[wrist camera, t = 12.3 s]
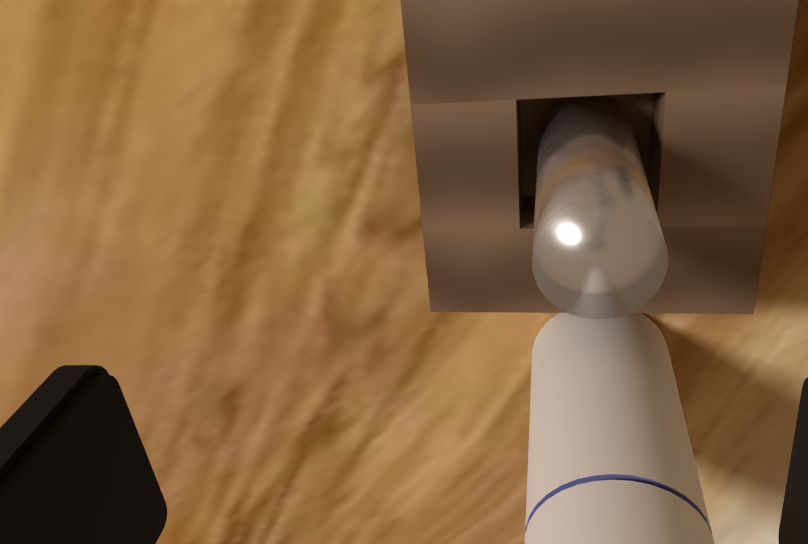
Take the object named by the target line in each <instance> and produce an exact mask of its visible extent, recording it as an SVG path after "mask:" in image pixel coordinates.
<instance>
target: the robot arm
mask: <svg viewBox="0 0 808 544" xmlns="http://www.w3.org/2000/svg"><path fill="white" fill-rule="evenodd" d="M166 518H167V506H166V502H165V500H164V497H163V495H162V492H161V490H160V487H159V485H158V482H157V480H156V477H155V475H154V472H153V469H152V467H151V464H150V462H149V459H148V457H147V454H146V452H145V449H144V447H143V444H142V441H141V439H140V436H139V434H138V431H137V429H136V426H135V424H134V421H133V419H132V416H131V414H130V411H129V408H128V406H127V403H126V401H125V398H124V396H123V393H122V391H121V388H120V386H119V383H118V381H117V380H116V378H114V377H113V376H110V375H109V374H108V372H107V370H105V369H104V368H103V367H101V366H97V365H65V366H61V367H59V368H57V369H56V370H55V371H53V373H52V374H51V375H50V376H49V377H48V378H47V379H46V380H45V381H44V382H43V383H42V384H41V385H40V386H39V387H38V388H37V390H36V391H35V392H34V393H33V394H32V395H31V396H30V397H29V398H28V399H27V400H26V401H25V402H24V403H23V404H22V405H21V407H20V408H19V409H18V410H17V411H16V412H15V413H14V414H13V415H12V416H11V417H10V418H9V419H8V420H7V421H6V422H5V424H4V425H3V426H2V427H1V428H0V544H155V543H156V541H157V540H158V538H159V536H160V534H161V533H162V531H163V529H164V526H165V523H166ZM779 544H808V378H806V379H805V381H804V383H803V387H802V393H801V399H800V405H799V411H798V418H797V424H796V430H795V436H794V442H793V448H792V454H791V460H790V466H789V472H788V479H787V485H786V491H785V497H784V503H783V509H782V515H781V521H780V527H779Z"/></svg>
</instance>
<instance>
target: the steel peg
mask: <svg viewBox="0 0 808 544" xmlns="http://www.w3.org/2000/svg"><path fill="white" fill-rule="evenodd" d="M667 266H668V253H667V247H666V244H665V240H664V237H663V233H662V230H661V226H660V223H659V220H658V216H657V213H656V209H655V206H654V202H653V199H652V195H651V192H650V188H649V185H648V182H647V178H646V175H645V171H644V168H643V164H642V161H641V157H640V154H639V150H638V147H637V144H636V140H635V137H634V133H633V130H632V126H631V123H630V120H629V117H628V115H627V113H626V111H625V109H624V108H623V107H622V106H621V105H620V103H619V102H617V101H616V100H615V99H613V98H612V97H610V96H608V95H600V96H580V97H563V98H561V99H560V100H558V101H557V102H556V103H554V104H553V105H552V106H551V107H550V108H549V110H548V111H547V112H546V114H545V115H544V117H543V119H542V122H541V125H540V129H539V139H538V159H537V178H536V197H535V217H534V236H533V255H532V269H533V274H534V279H535V281H536V283H537V286H538V287H539V289H540V291H541V292H542V294H543V295H544V296H545V297H546V298H547V299H548V300H549V301H550V302H551V303H552V304H553V305H554V306H556V307H557V308H559V309H561V310H562V311H564V312H566V313H569V314H571V315H574V316H577V317H581V318H586V319H609V318H615V317H619V316H623V315H625V314H628V313H630V312H632V311H634V310H636V309H638V308H639V307H641V306H642V305H644V304H645V303H646V302H648V301H649V300H650V299H651V298H652V297H653V296H654V295H655V293H656V292H657V291H658V289H659V288H660V286H661V284H662V282H663V280H664V278H665V275H666V272H667Z"/></svg>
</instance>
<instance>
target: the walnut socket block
mask: <svg viewBox="0 0 808 544" xmlns="http://www.w3.org/2000/svg"><path fill="white" fill-rule="evenodd" d="M798 1H799V0H401V8H402V18H403V29H404V39H405V50H406V60H407V70H408V81H409V91H410V101H411V112H412V122H413V133H414V143H415V153H416V164H417V174H418V184H419V195H420V205H421V216H422V226H423V236H424V247H425V257H426V267H427V278H428V288H429V299H430V309H431V312H543V313H566V312H564V311H562V310H561V309H559V308H557V307H556V306H554V305H553V304H552V303H551V302H550V301H549V300H548V299H547V298H546V297H545V296H544V295H543V294H542V292H541V291H540V289H539V287H538V286H537V283H536V281H535V279H534V274H533V269H532V255H533V236H534V217H535V197H536V178H537V159H538V139H539V129H540V125H541V122H542V119H543V117H544V115H545V114H546V112H547V111H548V110H549V108H550V107H551V106H552V105H553V104H554V103H556V102H557V101H558V100H560V99H561V98H563V97H580V96H600V95H608V96H610V97H612V98H613V99H615V100H616V101H617V102H619V103H620V105H621V106H622V107H623V108H624V109H625V111H626V113H627V115H628V117H629V120H630V123H631V126H632V130H633V133H634V137H635V140H636V144H637V147H638V150H639V154H640V157H641V161H642V164H643V168H644V171H645V175H646V178H647V182H648V185H649V188H650V192H651V195H652V199H653V202H654V206H655V209H656V213H657V216H658V220H659V223H660V226H661V230H662V233H663V237H664V240H665V244H666V247H667V253H668V266H667V272H666V275H665V278H664V280H663V282H662V284H661V286H660V288H659V289H658V291H657V292H656V293H655V295H654V296H653V297H652V298H651V299H650V300H649V301H648V302H646V303H645V304H644V305H642V306H641V307H639V308H638V309H636V310H634V311H632V312H630V313H715V314H753V313H754V307H755V300H756V293H757V286H758V279H759V272H760V265H761V258H762V251H763V244H764V237H765V230H766V223H767V216H768V209H769V202H770V195H771V189H772V182H773V175H774V168H775V161H776V154H777V147H778V140H779V133H780V126H781V119H782V112H783V105H784V98H785V91H786V84H787V77H788V71H789V64H790V57H791V50H792V43H793V36H794V29H795V22H796V15H797V8H798Z"/></svg>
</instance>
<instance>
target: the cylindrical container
mask: <svg viewBox="0 0 808 544" xmlns="http://www.w3.org/2000/svg"><path fill="white" fill-rule="evenodd" d="M525 544H714V540H713V536H712V532H711V527H710V523H709V519H708V515H707V510H706V506H705V502H704V498H703V494H702V489H701V485H700V481H699V477H698V473H697V468H696V464H695V460H694V456H693V452H692V447H691V443H690V439H689V435H688V431H687V426H686V422H685V418H684V414H683V410H682V405H681V401H680V397H679V393H678V389H677V384H676V380H675V376H674V372H673V368H672V363H671V359H670V355H669V351H668V347H667V343H666V341H665V338H664V336H663V334H662V332H661V331H660V330H659V328H658V327H657V325H656V324H655V323H654V322H653V321H651V320H650V319H649V318H648V317H647V316H645V315H644V314H642V313H628V314H625V315H623V316H619V317H615V318H609V319H586V318H581V317H577V316H574V315H571V314H569V313H558V314H557V315H555V316H554V317H553V318H551V319H550V320H549V321H548V322H547V323H546V324H545V325H544V327H543V328H542V329H541V330H540V332H539V334H538V336H537V337H536V339H535V342H534V346H533V350H532V372H531V400H530V428H529V453H528V478H527V502H526V526H525Z"/></svg>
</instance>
